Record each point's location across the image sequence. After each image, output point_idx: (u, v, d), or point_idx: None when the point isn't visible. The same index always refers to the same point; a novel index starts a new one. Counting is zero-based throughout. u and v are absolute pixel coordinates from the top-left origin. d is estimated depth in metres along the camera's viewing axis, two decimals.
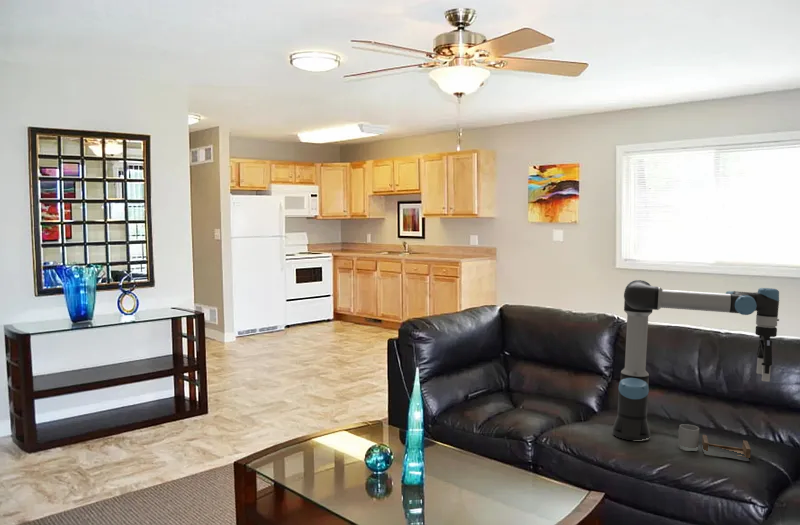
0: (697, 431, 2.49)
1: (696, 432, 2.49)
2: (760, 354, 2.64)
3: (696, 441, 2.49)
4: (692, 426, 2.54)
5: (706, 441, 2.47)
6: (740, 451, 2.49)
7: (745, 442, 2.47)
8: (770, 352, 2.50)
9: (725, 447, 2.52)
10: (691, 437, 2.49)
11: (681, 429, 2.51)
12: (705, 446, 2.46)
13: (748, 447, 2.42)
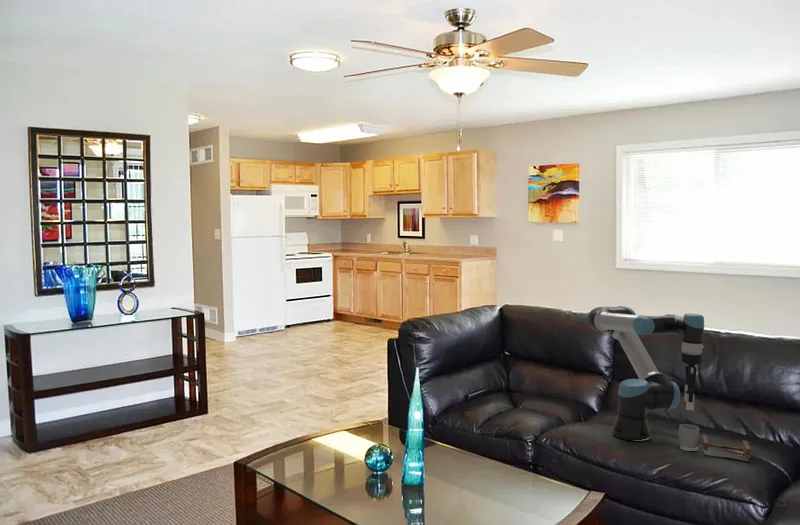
0: (697, 431, 2.49)
1: (696, 432, 2.49)
2: (687, 381, 2.58)
3: (696, 441, 2.49)
4: (692, 426, 2.54)
5: (706, 441, 2.47)
6: (740, 451, 2.49)
7: (745, 442, 2.47)
8: (693, 380, 2.44)
9: (725, 447, 2.52)
10: (691, 437, 2.49)
11: (681, 429, 2.51)
12: (705, 446, 2.46)
13: (748, 447, 2.42)
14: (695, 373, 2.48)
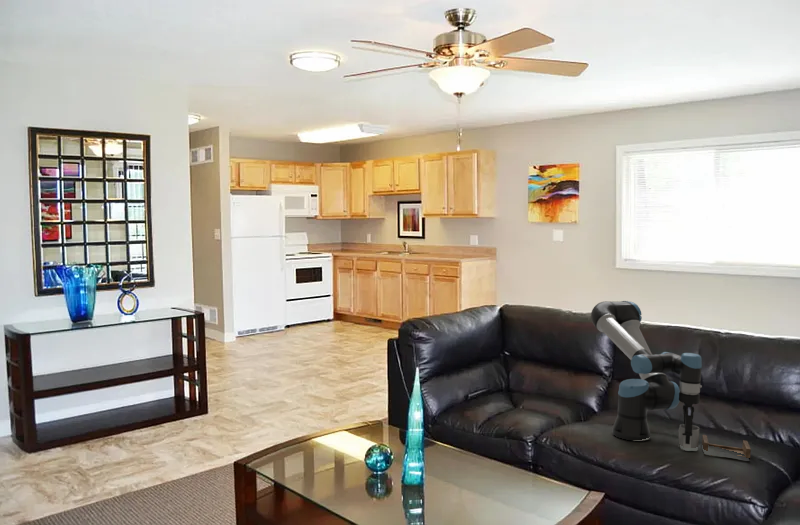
0: (697, 431, 2.49)
1: (696, 432, 2.49)
2: (685, 422, 2.58)
3: (696, 441, 2.49)
4: (692, 426, 2.54)
5: (706, 441, 2.47)
6: (740, 451, 2.49)
7: (745, 442, 2.47)
8: (691, 423, 2.46)
9: (725, 447, 2.52)
10: None
11: (681, 429, 2.51)
12: (705, 446, 2.46)
13: (748, 447, 2.42)
14: (692, 413, 2.50)
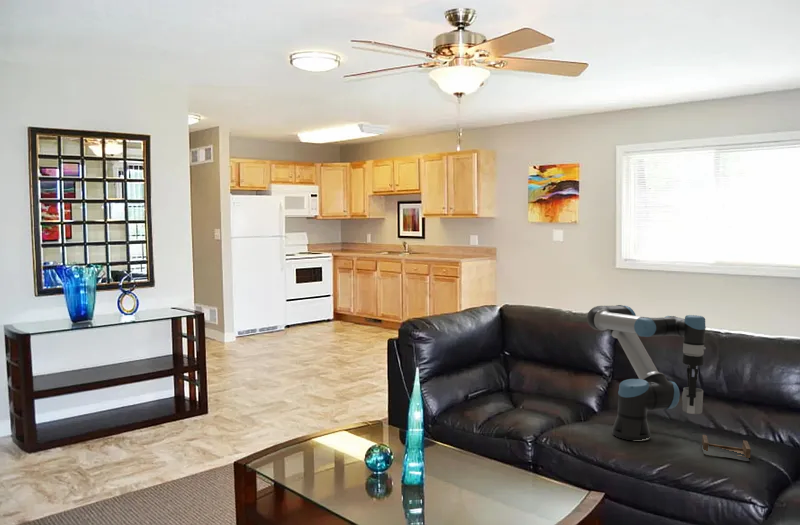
0: (701, 393, 2.48)
1: (700, 394, 2.48)
2: None
3: (700, 403, 2.48)
4: (696, 389, 2.53)
5: (706, 441, 2.47)
6: (740, 451, 2.49)
7: (745, 442, 2.47)
8: (694, 384, 2.45)
9: (725, 447, 2.52)
10: (695, 399, 2.48)
11: (685, 391, 2.50)
12: (705, 446, 2.46)
13: (748, 447, 2.42)
14: (696, 375, 2.49)
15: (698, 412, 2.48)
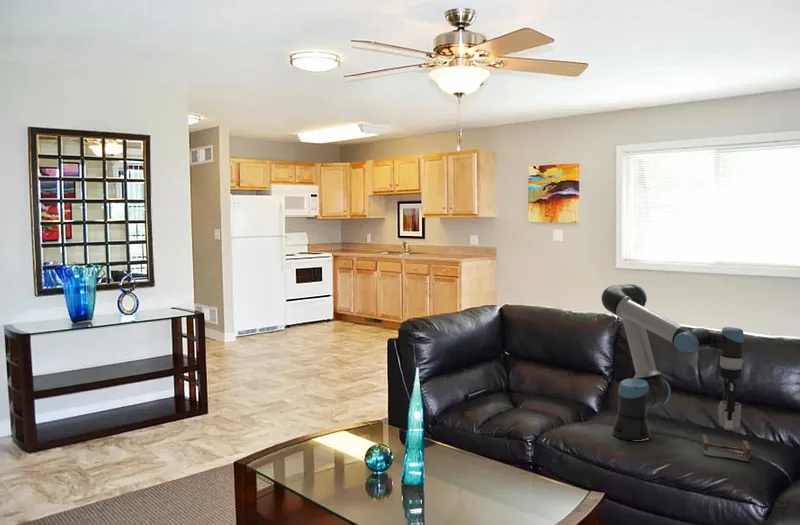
0: (739, 407, 2.43)
1: (738, 408, 2.42)
2: (725, 399, 2.51)
3: (738, 417, 2.43)
4: None
5: (706, 441, 2.47)
6: (740, 451, 2.49)
7: (745, 442, 2.47)
8: (733, 398, 2.39)
9: (725, 447, 2.52)
10: None
11: (722, 405, 2.45)
12: (705, 446, 2.46)
13: (748, 447, 2.42)
14: None
15: (736, 426, 2.43)
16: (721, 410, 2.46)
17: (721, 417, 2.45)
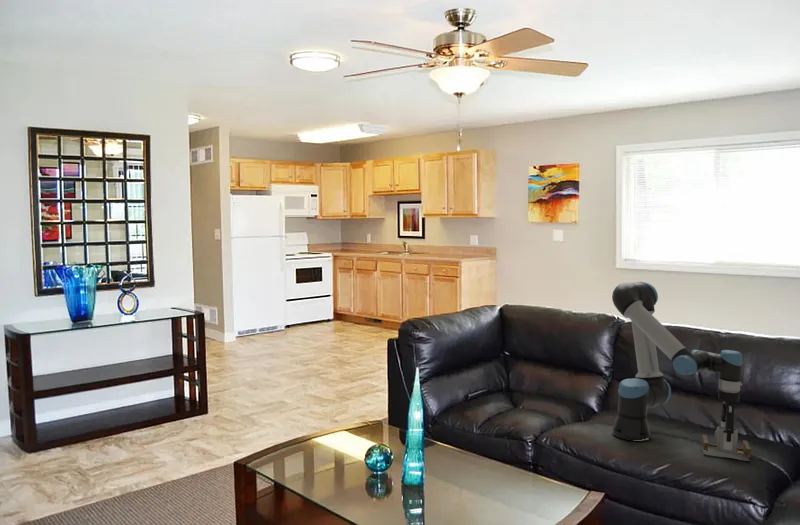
0: (736, 432, 2.44)
1: (735, 433, 2.44)
2: (724, 418, 2.53)
3: (735, 442, 2.44)
4: None
5: (706, 441, 2.47)
6: (740, 451, 2.49)
7: (745, 442, 2.47)
8: (732, 419, 2.39)
9: None
10: None
11: (719, 430, 2.46)
12: (705, 446, 2.46)
13: (748, 447, 2.42)
14: None
15: (734, 451, 2.44)
16: (718, 435, 2.47)
17: (718, 442, 2.46)
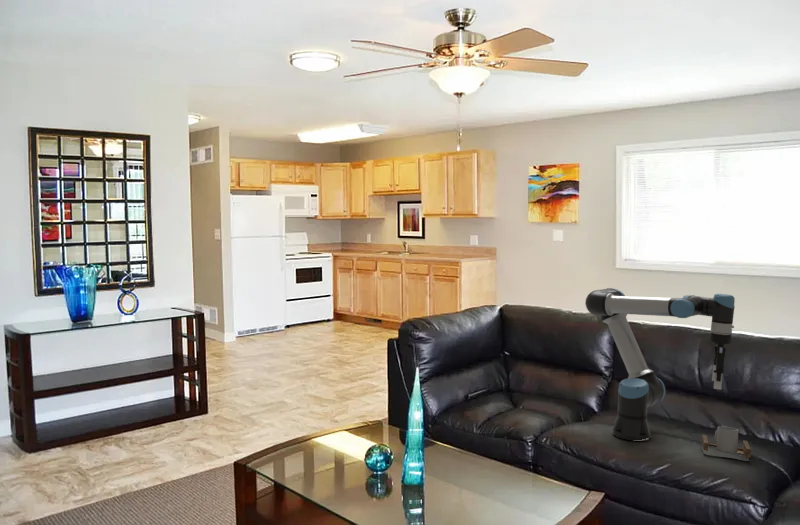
0: (736, 432, 2.44)
1: (736, 433, 2.44)
2: (716, 361, 2.59)
3: (736, 442, 2.44)
4: (730, 428, 2.50)
5: (706, 441, 2.47)
6: (740, 451, 2.49)
7: (745, 442, 2.47)
8: (722, 360, 2.45)
9: None
10: (731, 438, 2.44)
11: (720, 430, 2.46)
12: (705, 446, 2.46)
13: (748, 447, 2.42)
14: (724, 353, 2.50)
15: (734, 452, 2.44)
16: (719, 435, 2.47)
17: (719, 442, 2.46)
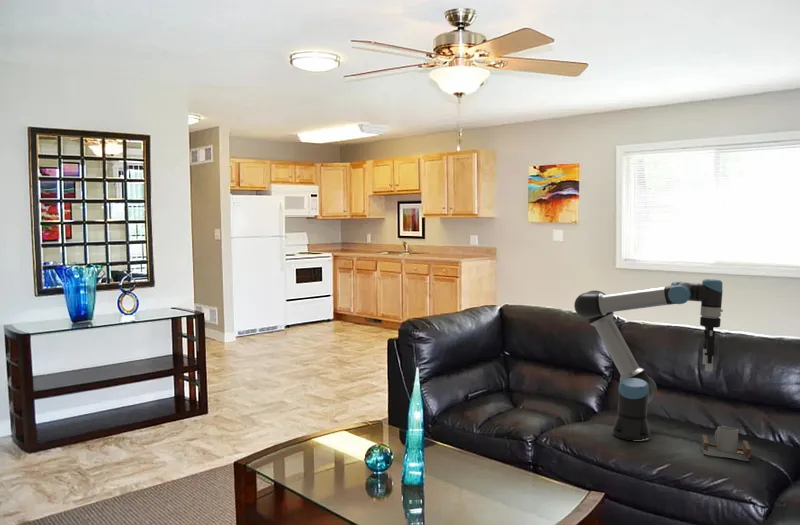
0: (736, 432, 2.44)
1: (736, 433, 2.44)
2: (706, 345, 2.67)
3: (736, 442, 2.44)
4: (730, 428, 2.50)
5: (706, 441, 2.47)
6: (740, 451, 2.49)
7: (745, 442, 2.47)
8: (712, 342, 2.53)
9: None
10: (731, 438, 2.44)
11: (720, 430, 2.46)
12: (705, 446, 2.46)
13: (748, 447, 2.42)
14: (714, 336, 2.57)
15: (734, 452, 2.44)
16: (719, 435, 2.47)
17: (719, 442, 2.46)
